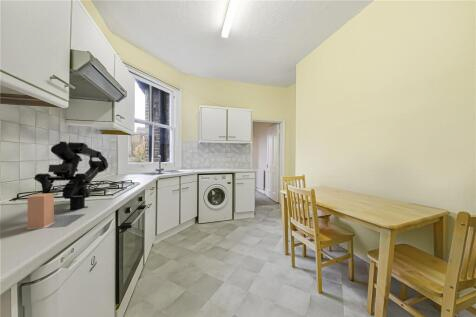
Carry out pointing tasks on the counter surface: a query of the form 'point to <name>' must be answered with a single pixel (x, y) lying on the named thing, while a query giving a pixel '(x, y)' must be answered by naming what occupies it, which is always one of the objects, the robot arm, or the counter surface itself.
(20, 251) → the counter surface
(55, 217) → the baseplate
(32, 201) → the column
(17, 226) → the counter surface
